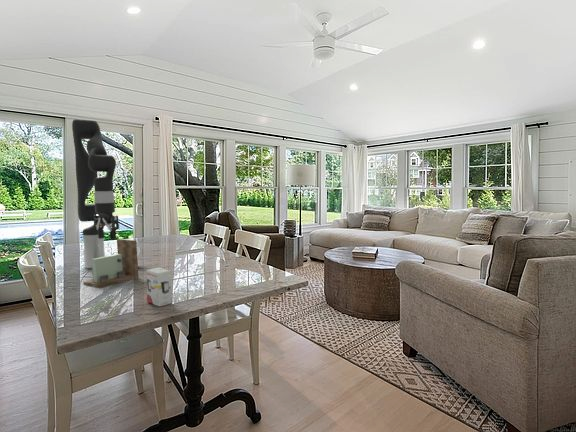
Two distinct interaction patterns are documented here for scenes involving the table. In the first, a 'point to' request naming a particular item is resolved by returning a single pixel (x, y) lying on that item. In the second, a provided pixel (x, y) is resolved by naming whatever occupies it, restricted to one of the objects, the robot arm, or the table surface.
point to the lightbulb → (138, 251)
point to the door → (106, 267)
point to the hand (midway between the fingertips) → (107, 238)
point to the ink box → (159, 286)
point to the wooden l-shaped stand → (128, 265)
